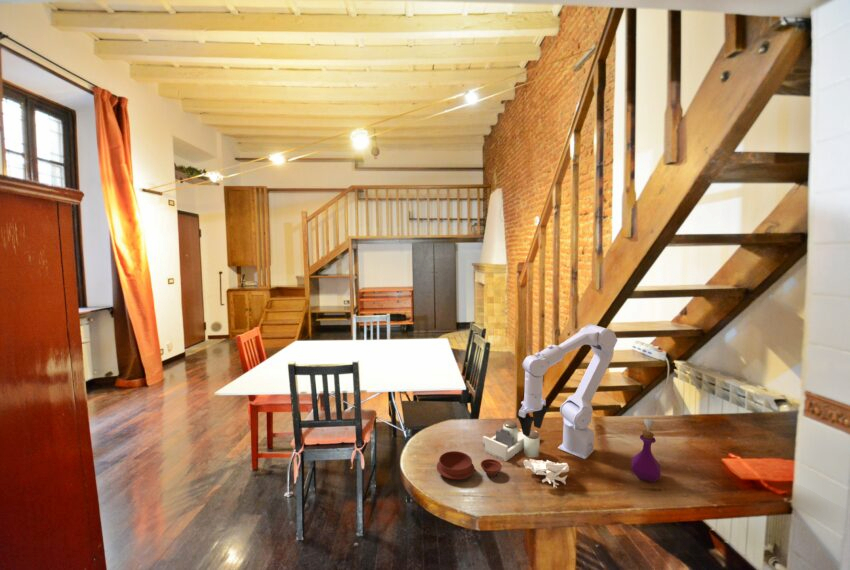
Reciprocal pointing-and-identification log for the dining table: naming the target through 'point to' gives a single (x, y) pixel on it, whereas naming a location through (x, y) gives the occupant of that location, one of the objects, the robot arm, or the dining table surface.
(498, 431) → the pusher
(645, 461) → the perfume bottle
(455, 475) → the pottery
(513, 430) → the stocked jar
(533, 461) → the white irregular branching piece
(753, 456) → the dining table surface
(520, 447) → the tray
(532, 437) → the jar
